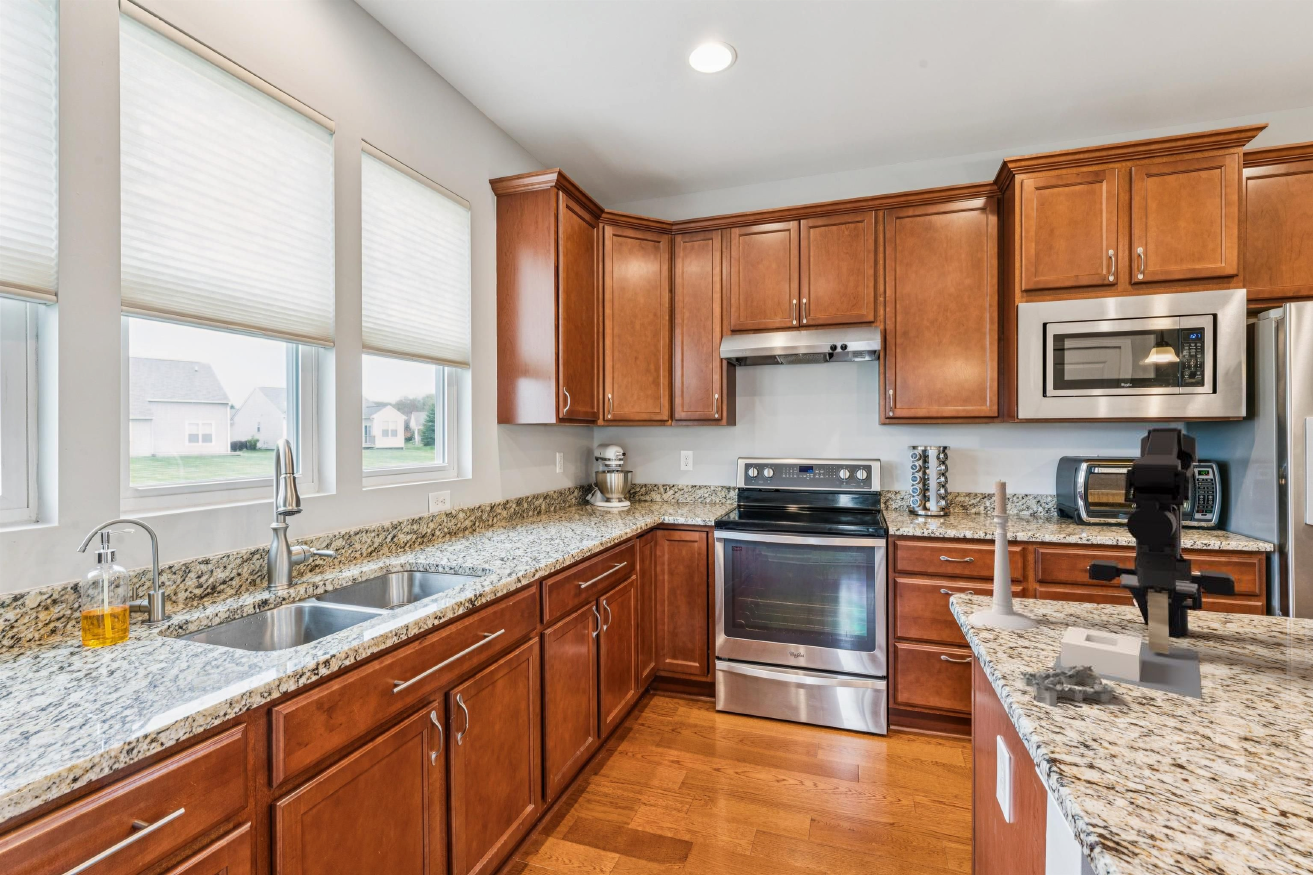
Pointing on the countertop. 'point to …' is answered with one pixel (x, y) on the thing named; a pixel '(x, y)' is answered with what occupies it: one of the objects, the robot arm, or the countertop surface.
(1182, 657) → the board
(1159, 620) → the peg
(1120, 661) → the holder
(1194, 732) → the countertop surface
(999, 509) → the candlestick
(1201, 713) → the countertop surface
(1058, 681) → the egg carton
